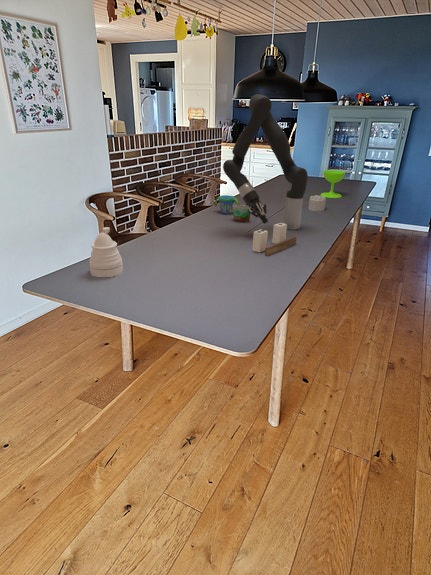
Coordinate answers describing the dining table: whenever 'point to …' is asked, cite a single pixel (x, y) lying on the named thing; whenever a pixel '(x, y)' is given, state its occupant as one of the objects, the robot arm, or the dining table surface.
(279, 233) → the key one
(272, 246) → the console
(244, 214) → the food container
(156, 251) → the dining table surface
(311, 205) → the lumpy-topped squat cylinder
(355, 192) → the dining table surface
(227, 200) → the snack cup
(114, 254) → the honey pot
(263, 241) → the key two
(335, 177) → the wineglass
